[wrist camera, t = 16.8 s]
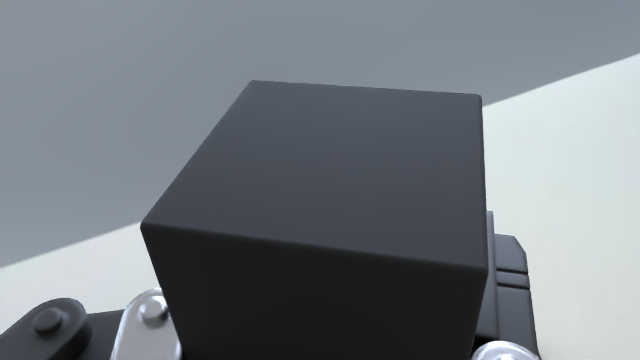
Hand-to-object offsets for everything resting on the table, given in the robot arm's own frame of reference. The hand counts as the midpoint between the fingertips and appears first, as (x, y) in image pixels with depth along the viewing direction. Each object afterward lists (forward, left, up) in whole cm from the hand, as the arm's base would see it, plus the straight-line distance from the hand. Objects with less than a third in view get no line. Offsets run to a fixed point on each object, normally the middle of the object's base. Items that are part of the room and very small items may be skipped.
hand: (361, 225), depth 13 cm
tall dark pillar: (0, -3, -6) cm, 7 cm away
